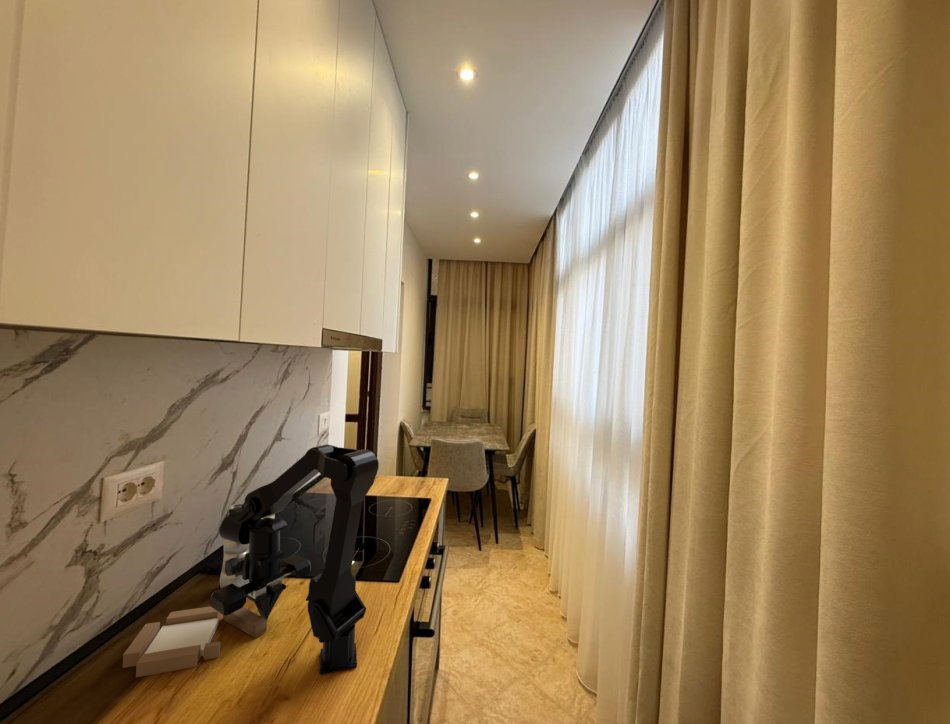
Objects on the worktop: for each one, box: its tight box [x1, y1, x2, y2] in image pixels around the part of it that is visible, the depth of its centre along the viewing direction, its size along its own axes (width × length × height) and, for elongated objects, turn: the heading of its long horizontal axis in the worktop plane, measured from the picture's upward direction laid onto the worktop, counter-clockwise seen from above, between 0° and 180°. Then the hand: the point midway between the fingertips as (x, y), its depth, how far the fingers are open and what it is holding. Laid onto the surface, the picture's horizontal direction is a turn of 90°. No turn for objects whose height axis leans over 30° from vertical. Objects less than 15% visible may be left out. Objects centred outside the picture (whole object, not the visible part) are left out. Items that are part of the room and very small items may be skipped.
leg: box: [222, 606, 268, 639], centre depth 85 cm, size 12×2×3 cm, turn 61°
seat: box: [122, 606, 221, 678], centre depth 79 cm, size 15×15×2 cm
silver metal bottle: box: [219, 503, 249, 589], centre depth 99 cm, size 6×7×20 cm
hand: (264, 621), depth 85 cm, fingers closed
